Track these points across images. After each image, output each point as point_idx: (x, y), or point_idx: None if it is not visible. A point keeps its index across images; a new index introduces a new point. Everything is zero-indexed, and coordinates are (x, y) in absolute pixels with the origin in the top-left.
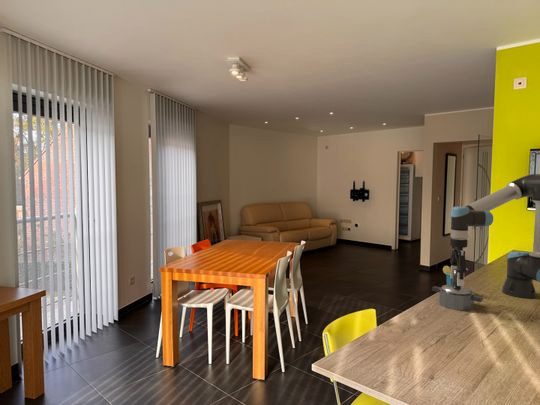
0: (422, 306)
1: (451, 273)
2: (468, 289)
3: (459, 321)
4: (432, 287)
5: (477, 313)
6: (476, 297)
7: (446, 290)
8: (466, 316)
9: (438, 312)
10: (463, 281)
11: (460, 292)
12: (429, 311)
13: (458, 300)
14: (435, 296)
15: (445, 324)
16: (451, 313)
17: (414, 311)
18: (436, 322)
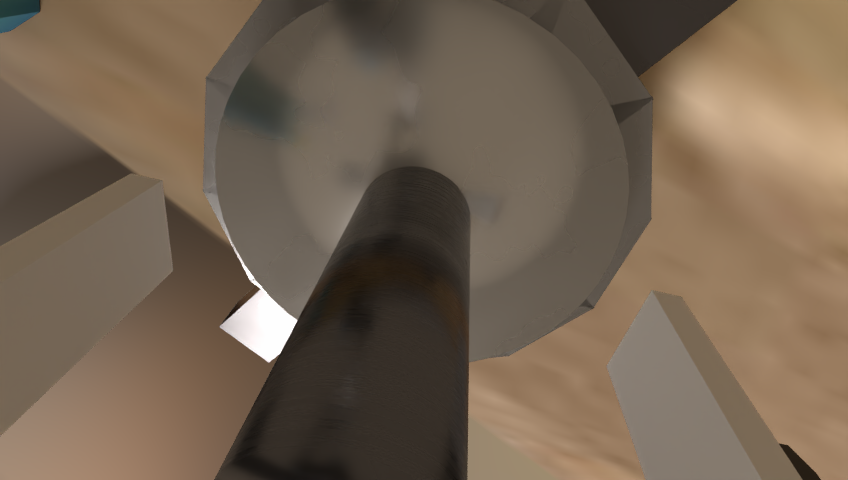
0: (478, 392)
1: (101, 330)
2: (452, 44)
3: (825, 301)
4: (270, 358)
5: (703, 33)
6: (704, 24)
7: (480, 353)
8: (746, 194)
9: (608, 352)
10: (720, 373)
11: (606, 258)
12: (580, 392)
13: None
14: (209, 215)
15: (833, 402)
16: (647, 278)
17: (570, 458)
18: (780, 430)
